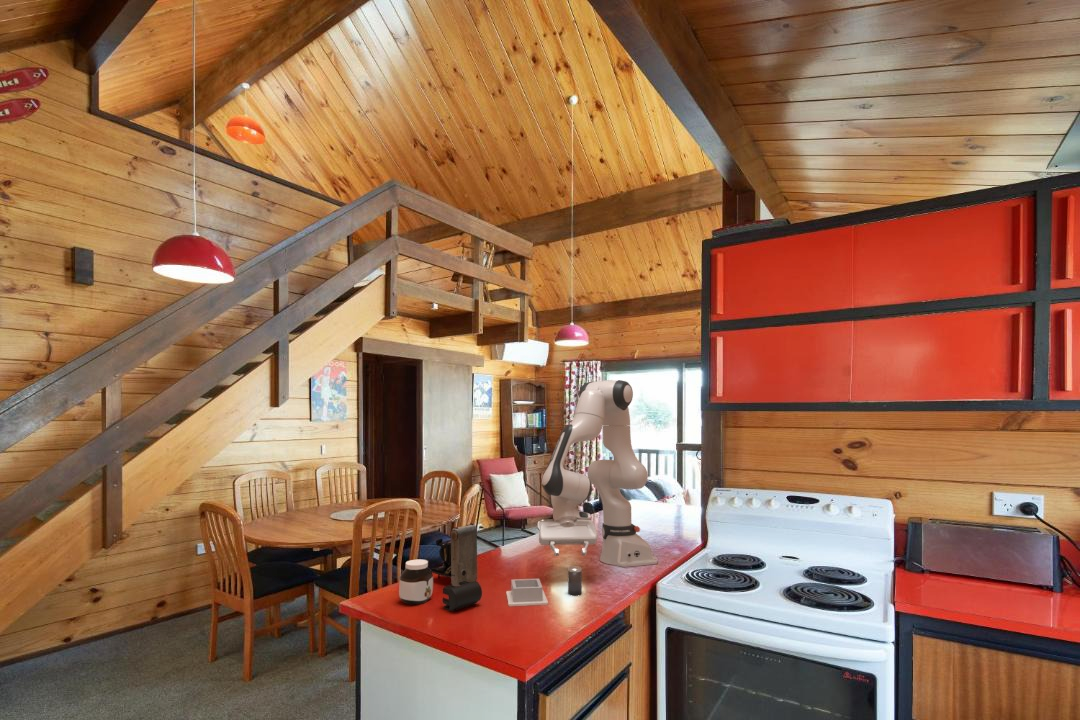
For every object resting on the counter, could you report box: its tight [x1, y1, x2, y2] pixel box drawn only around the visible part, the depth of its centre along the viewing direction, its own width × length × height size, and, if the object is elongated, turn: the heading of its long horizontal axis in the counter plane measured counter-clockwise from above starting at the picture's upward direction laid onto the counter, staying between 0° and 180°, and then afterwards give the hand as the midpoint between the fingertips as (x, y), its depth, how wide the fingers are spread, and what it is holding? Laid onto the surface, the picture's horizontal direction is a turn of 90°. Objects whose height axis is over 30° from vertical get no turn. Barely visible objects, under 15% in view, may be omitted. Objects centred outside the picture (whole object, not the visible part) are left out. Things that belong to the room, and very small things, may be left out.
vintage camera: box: [430, 522, 478, 586], centre depth 186 cm, size 10×15×20 cm, turn 54°
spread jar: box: [398, 558, 434, 606], centre depth 169 cm, size 12×11×12 cm
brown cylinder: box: [567, 565, 583, 597], centre depth 174 cm, size 4×4×8 cm
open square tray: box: [505, 578, 549, 607], centre depth 169 cm, size 12×12×5 cm
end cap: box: [442, 581, 483, 612], centre depth 162 cm, size 10×7×7 cm
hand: (570, 554), depth 181 cm, fingers open, 8 cm apart
